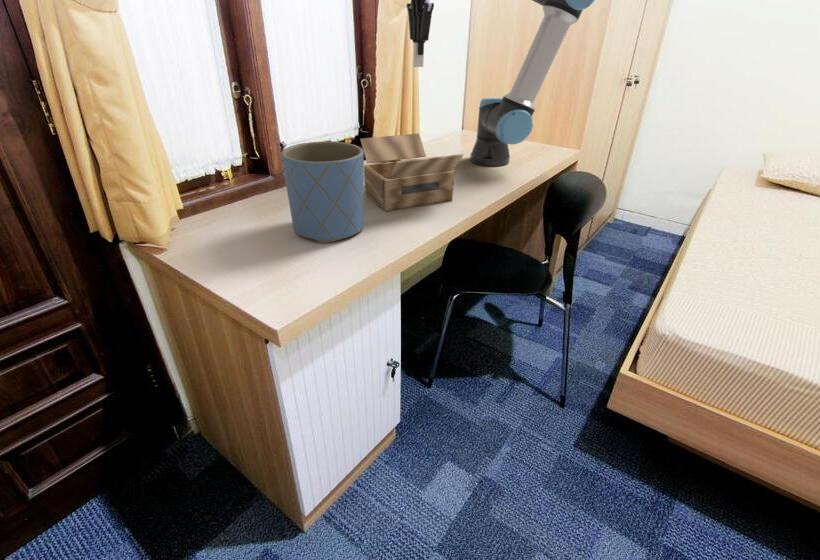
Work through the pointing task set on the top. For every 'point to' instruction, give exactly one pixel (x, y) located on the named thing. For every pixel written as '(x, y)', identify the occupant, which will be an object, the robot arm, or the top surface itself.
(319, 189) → the planter
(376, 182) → the carton
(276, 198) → the top surface
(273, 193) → the top surface
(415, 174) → the near flap
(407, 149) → the far flap
